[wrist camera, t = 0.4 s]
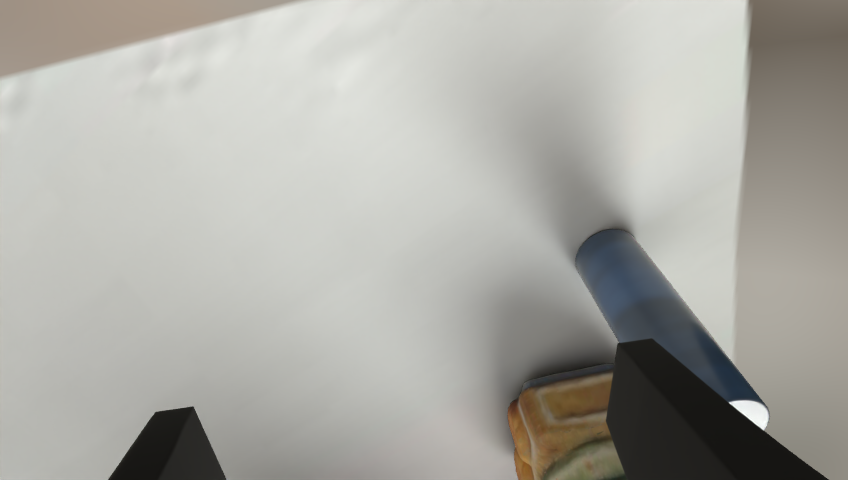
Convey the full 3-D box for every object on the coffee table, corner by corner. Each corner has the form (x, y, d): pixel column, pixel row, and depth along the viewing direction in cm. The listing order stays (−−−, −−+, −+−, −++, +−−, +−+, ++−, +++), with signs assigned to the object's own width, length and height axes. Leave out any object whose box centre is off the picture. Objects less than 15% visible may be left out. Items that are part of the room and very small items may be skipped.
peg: (633, 276, 22) (758, 451, 16) (573, 285, 22) (673, 466, 16) (640, 223, 21) (780, 392, 14) (576, 233, 21) (687, 407, 14)
